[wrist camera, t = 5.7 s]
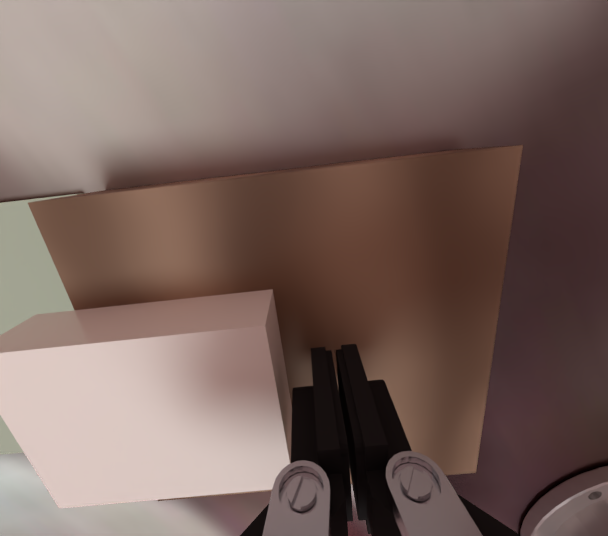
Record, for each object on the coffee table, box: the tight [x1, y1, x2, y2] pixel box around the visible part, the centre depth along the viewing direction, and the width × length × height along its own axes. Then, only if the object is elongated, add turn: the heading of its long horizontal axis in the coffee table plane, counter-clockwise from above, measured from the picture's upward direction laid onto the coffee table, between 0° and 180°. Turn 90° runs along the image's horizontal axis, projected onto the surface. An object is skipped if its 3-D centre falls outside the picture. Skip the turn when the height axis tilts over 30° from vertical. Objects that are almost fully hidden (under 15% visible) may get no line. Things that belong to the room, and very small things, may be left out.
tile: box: [0, 289, 292, 508], centre depth 11 cm, size 9×7×2 cm
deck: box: [28, 145, 523, 501], centre depth 14 cm, size 16×15×4 cm
